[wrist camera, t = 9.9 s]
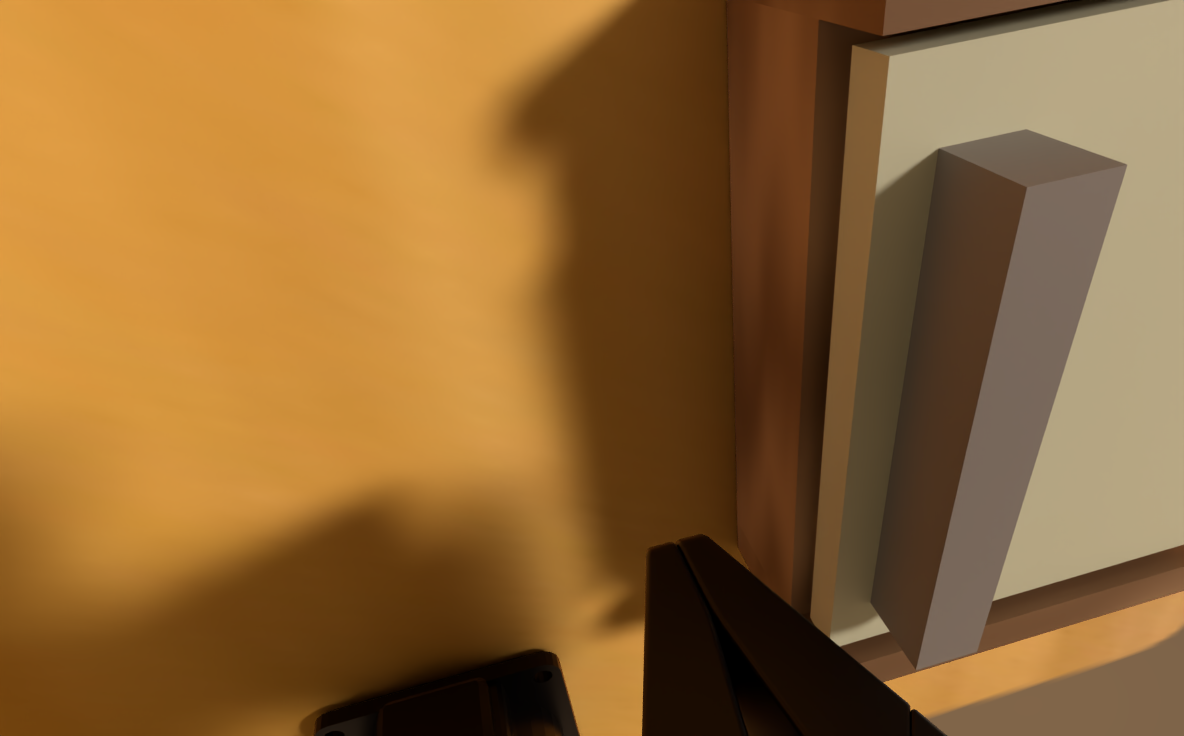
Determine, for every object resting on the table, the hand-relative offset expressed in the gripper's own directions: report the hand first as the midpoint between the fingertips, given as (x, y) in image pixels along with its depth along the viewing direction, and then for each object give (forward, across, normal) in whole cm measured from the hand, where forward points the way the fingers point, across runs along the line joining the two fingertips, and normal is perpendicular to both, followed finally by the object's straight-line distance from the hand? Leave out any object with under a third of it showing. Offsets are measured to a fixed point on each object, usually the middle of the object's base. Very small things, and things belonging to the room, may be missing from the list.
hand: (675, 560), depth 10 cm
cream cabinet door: (+2, -7, 0) cm, 8 cm away
